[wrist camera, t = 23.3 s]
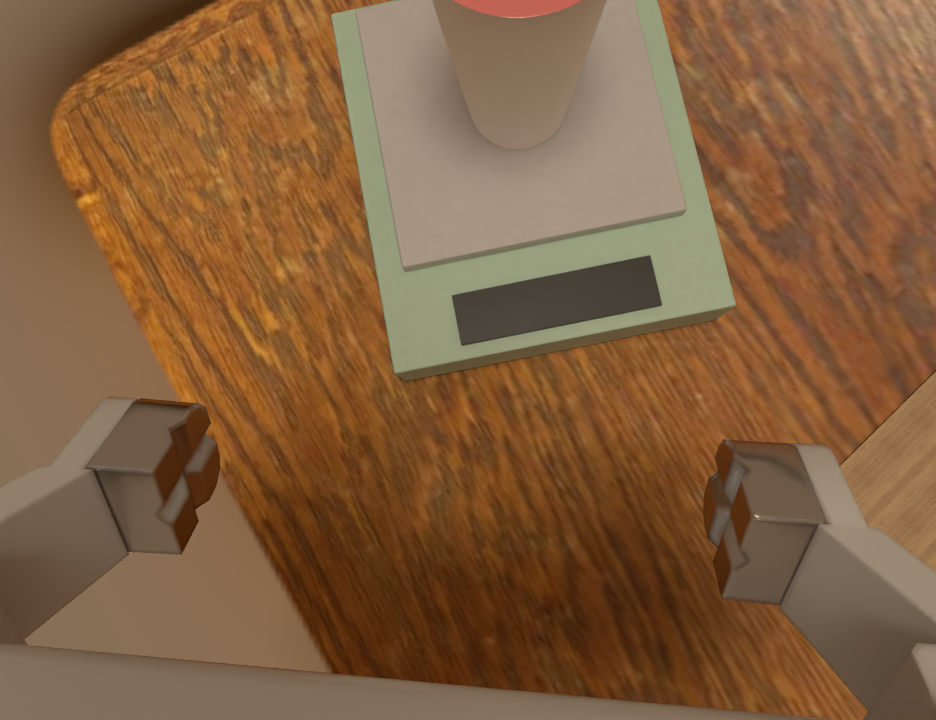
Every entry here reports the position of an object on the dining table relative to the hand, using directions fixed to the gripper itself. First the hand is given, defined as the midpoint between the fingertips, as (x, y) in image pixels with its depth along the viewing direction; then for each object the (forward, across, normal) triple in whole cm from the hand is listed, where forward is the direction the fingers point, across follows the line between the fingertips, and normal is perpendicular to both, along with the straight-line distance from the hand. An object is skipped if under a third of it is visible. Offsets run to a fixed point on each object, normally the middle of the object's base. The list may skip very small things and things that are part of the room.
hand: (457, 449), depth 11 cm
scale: (+18, -1, +3) cm, 19 cm away
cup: (+17, 0, 0) cm, 17 cm away
